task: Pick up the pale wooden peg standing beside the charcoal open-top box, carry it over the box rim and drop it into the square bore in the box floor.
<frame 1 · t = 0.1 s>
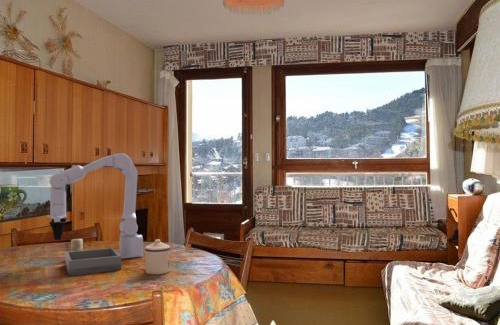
hand: (58, 238, 167), 10 cm above the table, fingers open, 7 cm apart
teacup with lid: (156, 271, 154), on the table
box: (92, 267, 160), on the table
peg: (76, 259, 174), on the table
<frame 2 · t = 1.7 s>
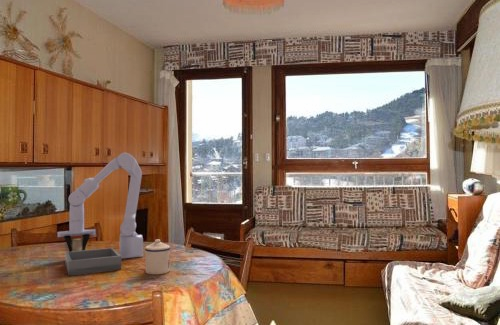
hand: (76, 253, 174), 2 cm above the table, fingers closed on peg, 4 cm apart
peg: (76, 259, 174), on the table, touching gripper
everything else where it was.
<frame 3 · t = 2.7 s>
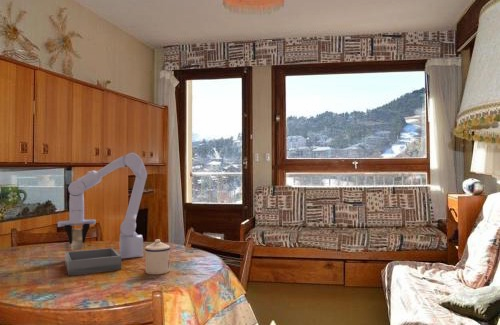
hand: (77, 242, 174), 7 cm above the table, fingers closed on peg, 4 cm apart
peg: (77, 248, 174), point 4 cm above the table, touching gripper
everything else where it was.
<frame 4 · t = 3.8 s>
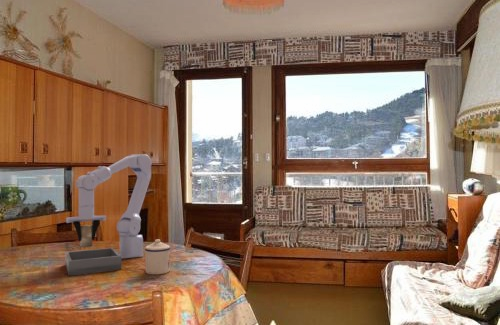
hand: (86, 240, 165), 9 cm above the table, fingers closed on peg, 4 cm apart
peg: (86, 246, 165), point 7 cm above the table, touching gripper
everything else where it was.
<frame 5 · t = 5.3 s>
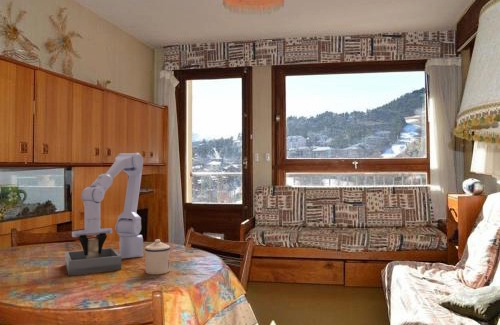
hand: (92, 254, 160), 5 cm above the table, fingers closed on peg, 4 cm apart
peg: (92, 260, 160), point 2 cm above the table, touching gripper
everything else where it was.
when the fingers open (3 cm above the table, at t = 6.2 s): peg stays where it is, resting in box.
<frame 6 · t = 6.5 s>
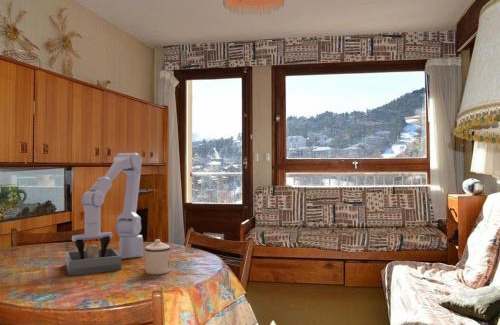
hand: (92, 258, 160), 3 cm above the table, fingers open, 7 cm apart
peg: (92, 267, 160), resting in box
everything else where it was.
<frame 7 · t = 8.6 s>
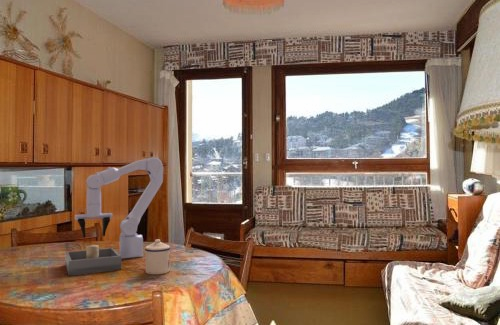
hand: (94, 236, 174), 9 cm above the table, fingers open, 7 cm apart
nothing on the table moved.
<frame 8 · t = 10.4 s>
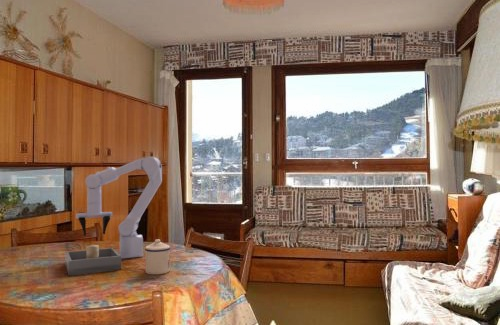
hand: (94, 234, 178), 9 cm above the table, fingers open, 7 cm apart
nothing on the table moved.
at the end: peg 0.1 cm off-centre on the box, point 0.0 cm above the box's base; peg tilted 1°; the gripper is holding nothing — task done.
